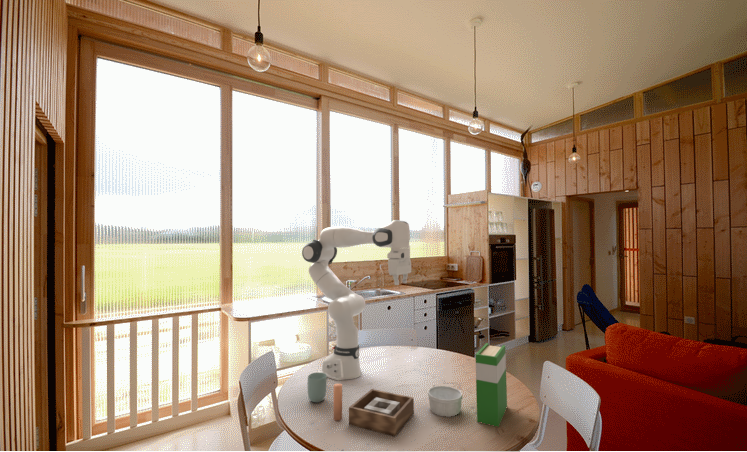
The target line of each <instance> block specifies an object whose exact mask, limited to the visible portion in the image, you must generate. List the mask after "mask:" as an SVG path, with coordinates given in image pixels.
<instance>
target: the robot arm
mask: <svg viewBox="0 0 747 452" xmlns="http://www.w3.org/2000/svg"><path fill="white" fill-rule="evenodd" d="M319 235H320V236H319V239H316V238H315V239H313V240H312V241H311V242H308V243H306V244H305V245H304V246H303V248H302V249H301V256H302V258H303V259H304V261H305V262H307V263H311V265H309V268H308V273H309V277H310V278H311V279H312V281H313V283H314V284H315V286H316V287H317V288H318V290H320V292H321V293H322V294H323V295H324V296H325V298H327V299H329V300H331V301H330V302H329V303H328V306H327V313H328V315H329V317H330V318H331V320H333V322H334V325H335V330H336V331H335V332H336V345H334V346H332V347H331V350H333V352H332V353H331V354H329V355H328V356H327V357H326V358H325V359H323V362H322V366H321V368H319V369H318V370H317V373H325V374H326V375H327V379H331V380H335V381H343V380H353V379H356V378H359V377H361V376H362V374H363V372H362V369H361V364H360V344H359V328H358V327H357V326H356V325H355V321H354V320H355V319H354V317H356V316H359V315H360V314H361V313H363V311H364V310H365V309H366V301H365V298H364V297H363V296H362V295H360V294H358V293H355V291H353V290H352V289H350V288H349V287H348V286H347V285H346V284H344V283H343V282H342V281H341V280H340V278H338V276H337V275H336V274H335V273H334V271H332V269H331V268H330V267H329V265H331V264H332V263H333V261H334V260H335V258H336V257H337V254H338V248H341V249H342V248H350V247H354V246H361V245H368V244H372V245H373V244H374V245H375V246H376V247H379V248H390V249H391V250H390V251H389V252H388V253H387V256H386V257H387V259H388V260H387V267H388V269H387V270H388V275H389V276H392V278H393V281H394V283H393V284H394V286H399V285H400V280H399V276H401V275H402V279H401V281H402V282H401V283H402V284H407V282H408V277H409V276H408V275H409V274H411V273H412V261H411V246H410V240H411V231H410V224H409V223H408V222H407V221H406V220H399V219H394V220H391V222H389V223H388V224H386V225H384V226H381V227H378V228H375V230H374V231H366V230H361V229H358V228H353V227H349V226H330V227H326V228H324V229H322V230H321V231H320V234H319Z"/></svg>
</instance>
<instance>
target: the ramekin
mask: <svg viewBox="0 0 747 452" xmlns="http://www.w3.org/2000/svg"><path fill="white" fill-rule="evenodd" d="M427 396H428V403H429V409H430V411H432V413H433V412H434V413H433V414H434V415H436V414H437V415H436V416H439V415H440V416H439V417H443V416H446V417H445V418H451V416H453V417H455V415H456V416H457V414H458V415H459V414H460V412H461V410H462V400H463V392H462V391H461V390H460V389H459V388H456V387H453V386H450V385H435V386H431V387H430V388H429V389H428V390H427Z"/></svg>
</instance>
